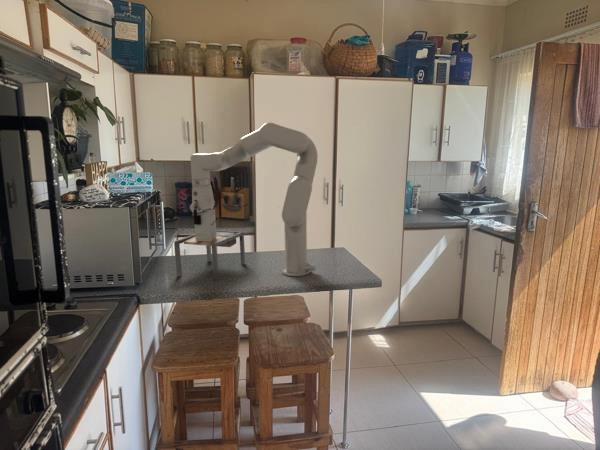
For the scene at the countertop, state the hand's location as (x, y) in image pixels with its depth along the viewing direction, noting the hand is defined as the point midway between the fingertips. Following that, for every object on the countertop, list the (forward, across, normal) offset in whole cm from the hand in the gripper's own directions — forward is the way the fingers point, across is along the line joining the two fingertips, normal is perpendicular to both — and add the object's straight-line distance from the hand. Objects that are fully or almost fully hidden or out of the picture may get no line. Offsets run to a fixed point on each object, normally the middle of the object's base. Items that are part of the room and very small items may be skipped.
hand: (204, 222), depth 171 cm
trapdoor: (+12, +4, 0) cm, 13 cm away
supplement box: (+8, 0, 0) cm, 8 cm away
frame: (+23, +4, 0) cm, 23 cm away
